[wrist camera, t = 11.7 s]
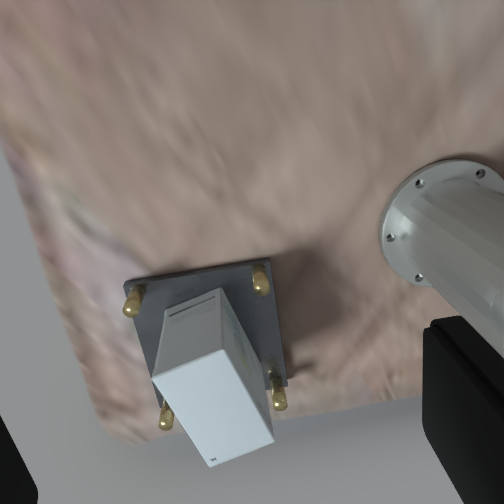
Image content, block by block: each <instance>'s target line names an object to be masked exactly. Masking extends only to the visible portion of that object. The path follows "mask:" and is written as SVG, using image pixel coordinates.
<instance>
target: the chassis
mask: <svg viewBox="0 0 504 504" xmlns="http://www.w3.org/2000/svg"><path fill="white" fill-rule="evenodd" d="M219 287H221V288H222V289H223V291H224V293H225V295H226V297H227V299H228V301H229V303H230V305H231V307H232V309H233V311H234V313H235V315H236V316H237V318H238V320H239V322H240V324H241V326H242V328H243V330H244V332H245V334H246V336H247V338H248V340H249V342H250V344H251V346H252V348H253V350H254V352H255V354H256V355H257V357H258V359H259V361H260V363H261V365H262V371H263V377H264V383H265V389H266V390H269V389H271V394H272V400H273V406H274V409H275V410H277V411H283V410H285V409H286V408H287V406H288V405H287V400H286V395H285V390H284V387H287V386H288V382H287V375H286V369H285V362H284V355H283V348H282V341H281V334H280V327H279V320H278V313H277V306H276V300H275V293H274V286H273V279H272V272H271V265H270V260H269V258H264V259H258V260H252V261H246V262H240V263H234V264H228V265H222V266H216V267H210V268H204V269H198V270H192V271H186V272H180V273H174V274H168V275H162V276H156V277H149V278H143V279H137V280H131V281H125V283H124V286H123V288H124V291H125V294H126V297H127V300H126V302H125V305H124V307H123V313H124V315H125V316H127V317H130V318H133V320H134V324H135V327H136V330H137V334H138V337H139V340H140V343H141V347H142V350H143V353H144V357H145V360H146V363H147V366H148V370H149V373H150V376H151V378H152V374H153V369H154V365H155V361H156V357H157V352H158V347H159V342H160V338H161V332H162V327H163V321H164V314H165V310H166V309H168V308H171V307H173V306H176V305H178V304H181V303H183V302H186V301H188V300H190V299H193V298H196V297H198V296H200V295H203V294H205V293H207V292H209V291H212V290H214V289H217V288H219ZM152 383H153V386H154V389H155V393H156V396H157V399H158V402H159V406H160V408H161V414H160V420H159V428H160V429H162V430H170V429H171V428H172V427H173V421H174V412H173V411H172V409H171V408H170V406H169V405H168V403H167V401H166V400H165V398H164V397H163V395H162V394H161V392H160V391H159V390H158V388H157V387H156V385H155V384H154V382H153V381H152Z"/></svg>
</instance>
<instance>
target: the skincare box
mask: <svg viewBox="0 0 504 504" xmlns="http://www.w3.org/2000/svg"><path fill="white" fill-rule="evenodd" d="M151 379H152V381H153V382H154V384H155V385H156V387H157V388H158V390H159V391H160V392H161V394H162V395H163V397H164V398H165V400H166V401H167V403H168V405H169V406H170V408H171V409H172V411H173V412H174V414H175V415H176V417H177V418H178V420H179V421H180V423H181V424H182V426H183V427H184V429H185V430H186V432H187V433H188V435H189V436H190V438H191V439H192V441H193V443H194V444H195V446H196V447H197V449H198V450H199V452H200V453H201V455H202V456H203V458H204V459H205V461H206V463H207V464H208V466H209V467H213V466H216V465H218V464H221V463H223V462H226V461H228V460H231V459H233V458H236V457H238V456H241V455H243V454H246V453H248V452H251V451H254V450H256V449H259V448H261V447H264V446H266V445H268V444H271V443H273V442H274V441H275V439H274V433H273V428H272V421H271V416H270V410H269V405H268V399H267V394H266V389H265V383H264V377H263V371H262V365H261V363H260V361H259V359H258V357H257V355H256V354H255V352H254V350H253V348H252V346H251V344H250V342H249V340H248V338H247V336H246V334H245V332H244V330H243V328H242V326H241V324H240V322H239V320H238V318H237V316H236V315H235V313H234V311H233V309H232V307H231V305H230V303H229V301H228V299H227V297H226V295H225V293H224V291H223V289H222V288H221V287H219V288H217V289H214V290H212V291H209V292H207V293H205V294H203V295H200V296H198V297H196V298H193V299H190V300H188V301H186V302H183V303H181V304H178V305H176V306H173V307H171V308H168V309H166V310H165V314H164V321H163V327H162V332H161V338H160V342H159V347H158V352H157V357H156V361H155V365H154V369H153V374H152V378H151Z"/></svg>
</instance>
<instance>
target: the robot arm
mask: <svg viewBox="0 0 504 504" xmlns="http://www.w3.org/2000/svg"><path fill="white" fill-rule="evenodd" d="M476 172H477V173H476ZM417 180H418V183H417V184H416V181H417ZM388 234H390V235H389V236H388V237H387V235H388ZM379 240H380V245H381V250H382V252H383V255H384V257H385V259H386V261H387V262H388V264H389V265H390V266H391V268H392V269H393V270H394V271H395V272H396V273H397V274H398V275H399V276H401V277H402V278H403V279H405V280H406V281H408V282H410V283H413V284H415V285H419V286H424V287H434V288H435V289H436V290H437V292H438V293H439V294H440V295H441V296H442V297H443V298H444V299H445V300H446V301H447V302H448V303H449V304H450V305H451V306H452V307H453V308H454V309H455V310H456V311H457V312H458V313H459V314H460V315H461V316H452V317H446V318H440V319H434V320H432V322H431V324H430V327H428V328H425V329H424V331H423V392H422V398H423V399H422V423H423V428H424V432H425V435H426V437H427V439H428V440H429V443H430V444H431V446H432V448H433V450H434V451H435V453H436V455H437V457H438V458H439V460H440V462H441V464H442V466H443V467H444V469H445V471H446V472H447V474H448V476H449V478H450V479H451V481H452V483H453V485H454V487H455V489H456V490H457V492H458V494H459V496H460V497H461V499H462V501H463V503H464V504H504V180H503V179H502V177H501V176H500V175H499V174H498V173H497V172H495V171H494V170H492V169H491V168H489V167H488V166H485V165H482V164H480V163H477V162H474V161H469V160H465V159H450V160H444V161H439V162H436V163H433V164H431V165H428V166H426V167H424V168H422V169H420V170H418V171H417V172H415V173H414V174H412V175H411V176H410V177H409V178H407V179H406V180H405V181H404V182H403V183H402V184H401V185H400V186H399V187H398V188H397V189H396V190H395V192H394V193H393V195H392V196H391V198H390V199H389V201H388V202H387V204H386V207H385V209H384V212H383V214H382V218H381V222H380V227H379ZM37 500H38V490H37V487H36V485H35V483H34V481H33V479H32V477H31V475H30V473H29V471H28V469H27V467H26V465H25V463H24V461H23V459H22V457H21V455H20V453H19V451H18V449H17V447H16V445H15V443H14V442H13V440H12V438H11V435H10V434H9V432H8V430H7V428H6V426H5V424H4V422H3V420H2V418H1V416H0V504H37Z"/></svg>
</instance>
